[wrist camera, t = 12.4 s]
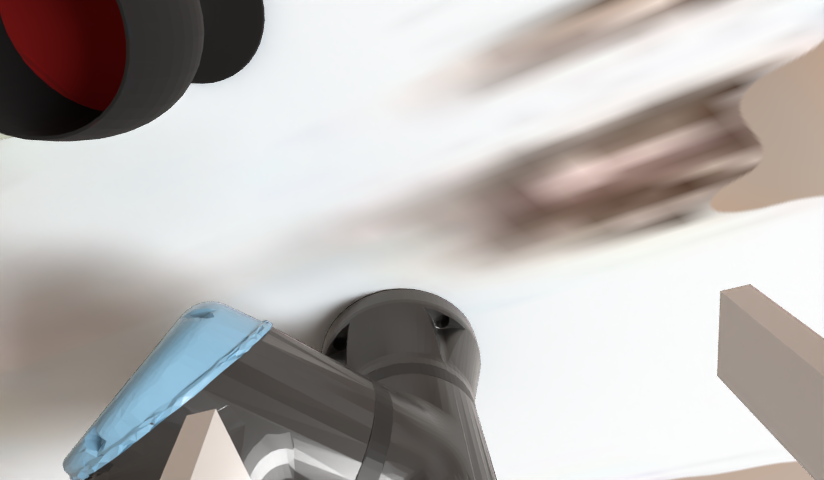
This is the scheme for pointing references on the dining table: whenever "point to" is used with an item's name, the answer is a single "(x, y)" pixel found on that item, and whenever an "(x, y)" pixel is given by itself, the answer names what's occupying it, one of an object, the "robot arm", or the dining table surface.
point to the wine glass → (114, 60)
